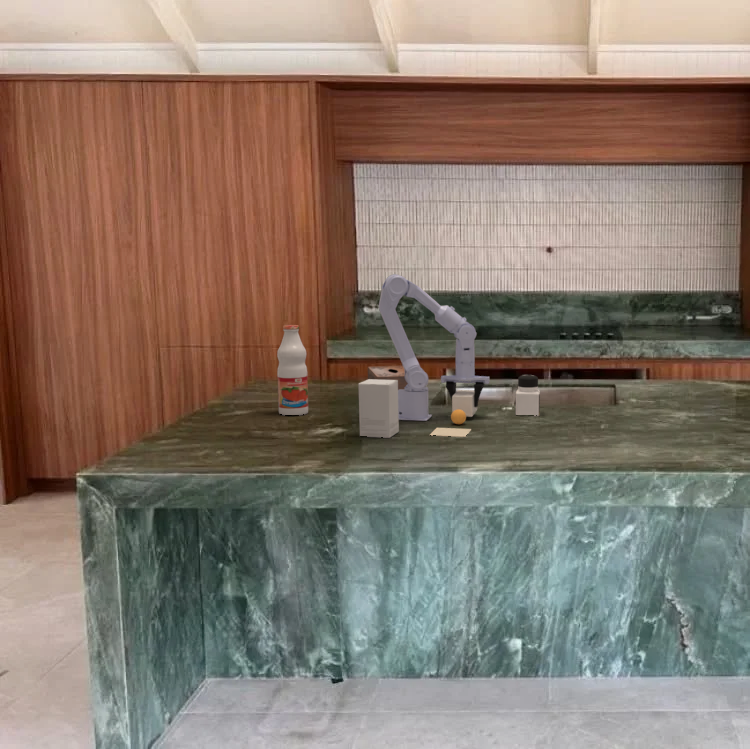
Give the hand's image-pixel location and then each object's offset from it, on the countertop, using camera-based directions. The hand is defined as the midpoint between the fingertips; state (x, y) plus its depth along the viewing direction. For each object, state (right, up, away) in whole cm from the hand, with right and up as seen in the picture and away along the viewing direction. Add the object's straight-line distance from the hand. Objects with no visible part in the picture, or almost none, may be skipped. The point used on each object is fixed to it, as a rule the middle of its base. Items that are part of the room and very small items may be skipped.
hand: (465, 406), depth 259 cm
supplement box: (-26, -7, -22) cm, 35 cm away
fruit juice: (-53, -3, +11) cm, 54 cm away
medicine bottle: (+20, -3, +4) cm, 20 cm away
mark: (-6, -7, -21) cm, 23 cm away
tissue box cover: (-21, +1, +35) cm, 41 cm away
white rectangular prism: (0, -2, 0) cm, 2 cm away
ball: (-3, -3, -10) cm, 11 cm away
